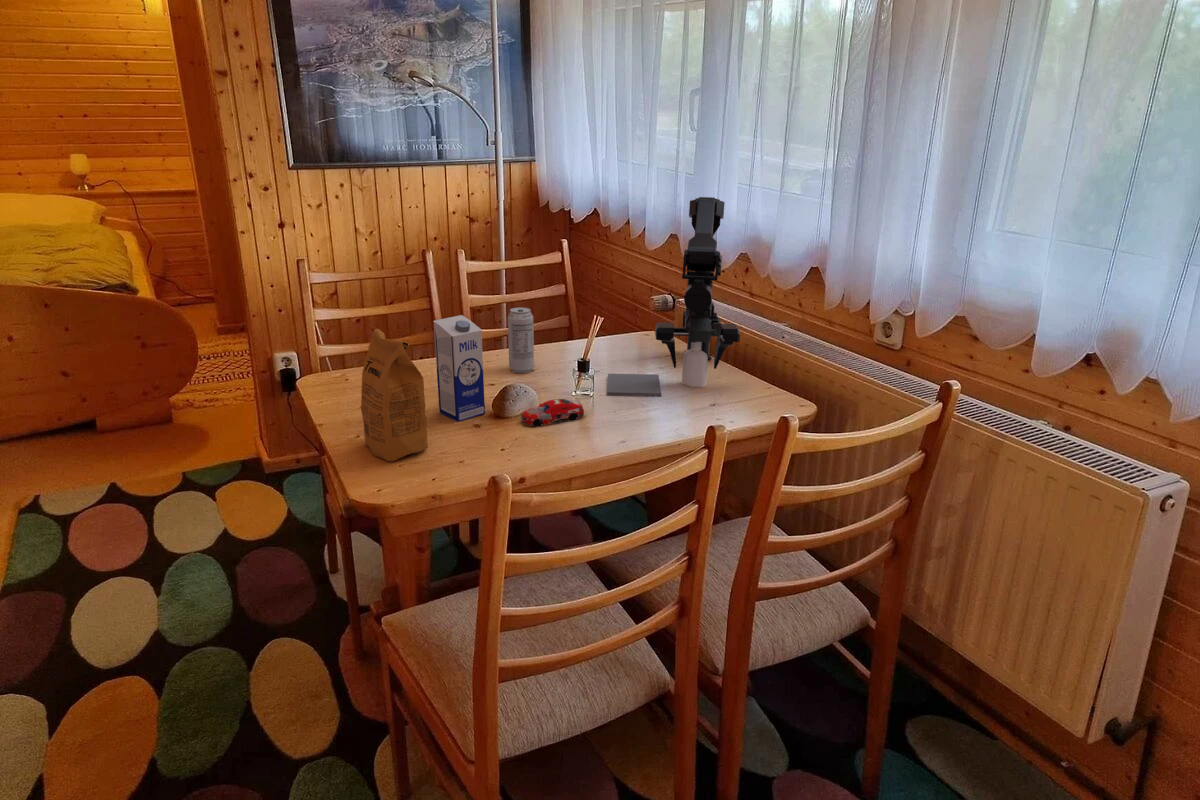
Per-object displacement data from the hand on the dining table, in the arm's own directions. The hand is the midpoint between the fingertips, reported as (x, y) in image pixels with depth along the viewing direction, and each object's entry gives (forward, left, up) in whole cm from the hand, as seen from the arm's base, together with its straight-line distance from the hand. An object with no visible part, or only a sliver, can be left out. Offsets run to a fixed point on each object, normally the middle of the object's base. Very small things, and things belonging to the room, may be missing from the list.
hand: (694, 368), depth 179 cm
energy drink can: (-8, -41, -4) cm, 42 cm away
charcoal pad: (+2, -14, -4) cm, 15 cm away
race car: (+23, -31, -5) cm, 39 cm away
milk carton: (+21, -50, -4) cm, 54 cm away
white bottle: (0, 0, -4) cm, 4 cm away
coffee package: (+39, -59, -4) cm, 71 cm away
